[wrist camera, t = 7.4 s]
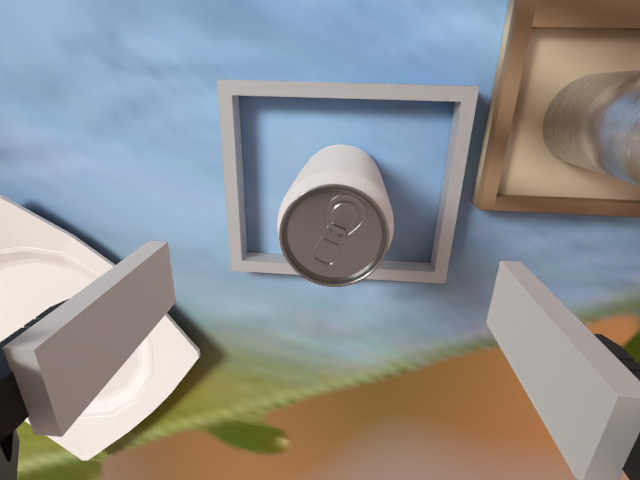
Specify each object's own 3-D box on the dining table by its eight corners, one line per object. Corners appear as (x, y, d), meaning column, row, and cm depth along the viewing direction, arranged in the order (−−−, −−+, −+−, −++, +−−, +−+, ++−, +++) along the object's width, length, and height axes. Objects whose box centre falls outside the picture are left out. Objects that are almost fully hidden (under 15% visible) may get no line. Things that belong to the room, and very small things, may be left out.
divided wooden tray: (558, -267, 20) (579, -304, 18) (823, -277, 19) (874, -318, 17) (471, 202, 29) (479, 209, 28) (643, 210, 29) (663, 218, 27)
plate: (227, 338, 37) (217, 355, 35) (103, 451, 45) (88, 471, 42) (10, 165, 32) (-19, 171, 30) (-86, 326, 40) (-115, 341, 37)
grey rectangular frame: (225, 80, 28) (216, 79, 26) (471, 86, 26) (479, 86, 25) (237, 261, 33) (230, 270, 32) (440, 273, 32) (445, 283, 30)
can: (395, 164, 29) (422, 209, 18) (359, 233, 31) (362, 312, 20) (320, 129, 28) (299, 152, 17) (289, 202, 31) (253, 264, 20)
